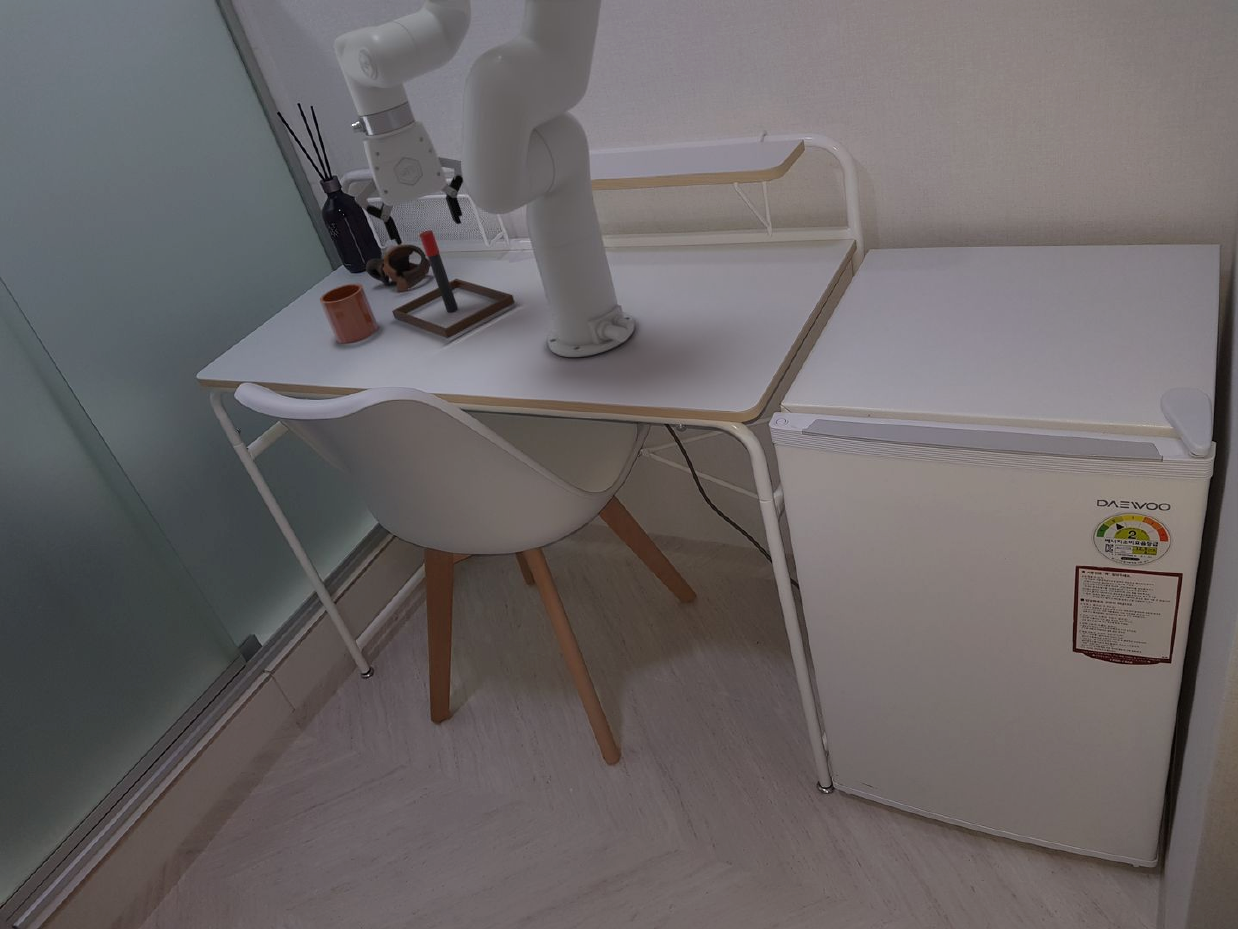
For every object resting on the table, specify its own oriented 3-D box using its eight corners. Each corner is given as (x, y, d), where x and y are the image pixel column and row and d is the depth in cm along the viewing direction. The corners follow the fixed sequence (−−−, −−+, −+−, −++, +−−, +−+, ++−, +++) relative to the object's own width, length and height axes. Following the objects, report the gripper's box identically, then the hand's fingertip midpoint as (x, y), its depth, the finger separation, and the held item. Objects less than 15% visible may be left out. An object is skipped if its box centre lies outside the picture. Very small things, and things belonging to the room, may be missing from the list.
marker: (461, 309, 151) (434, 231, 143) (451, 314, 150) (423, 236, 142) (454, 307, 152) (428, 229, 145) (444, 312, 151) (416, 234, 144)
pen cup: (387, 332, 151) (369, 287, 147) (350, 350, 148) (331, 305, 144) (368, 324, 156) (350, 280, 152) (331, 342, 153) (312, 298, 149)
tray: (516, 306, 148) (512, 294, 147) (449, 342, 142) (444, 330, 141) (460, 289, 160) (456, 278, 159) (396, 322, 154) (391, 310, 153)
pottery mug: (437, 270, 173) (432, 239, 165) (433, 310, 168) (427, 279, 161) (372, 268, 172) (364, 237, 165) (366, 308, 167) (357, 277, 160)
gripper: (333, 142, 129) (378, 256, 138) (449, 105, 133) (485, 219, 142) (328, 135, 136) (372, 245, 145) (439, 99, 139) (475, 209, 148)
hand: (428, 232), depth 143 cm, fingers open, 9 cm apart
